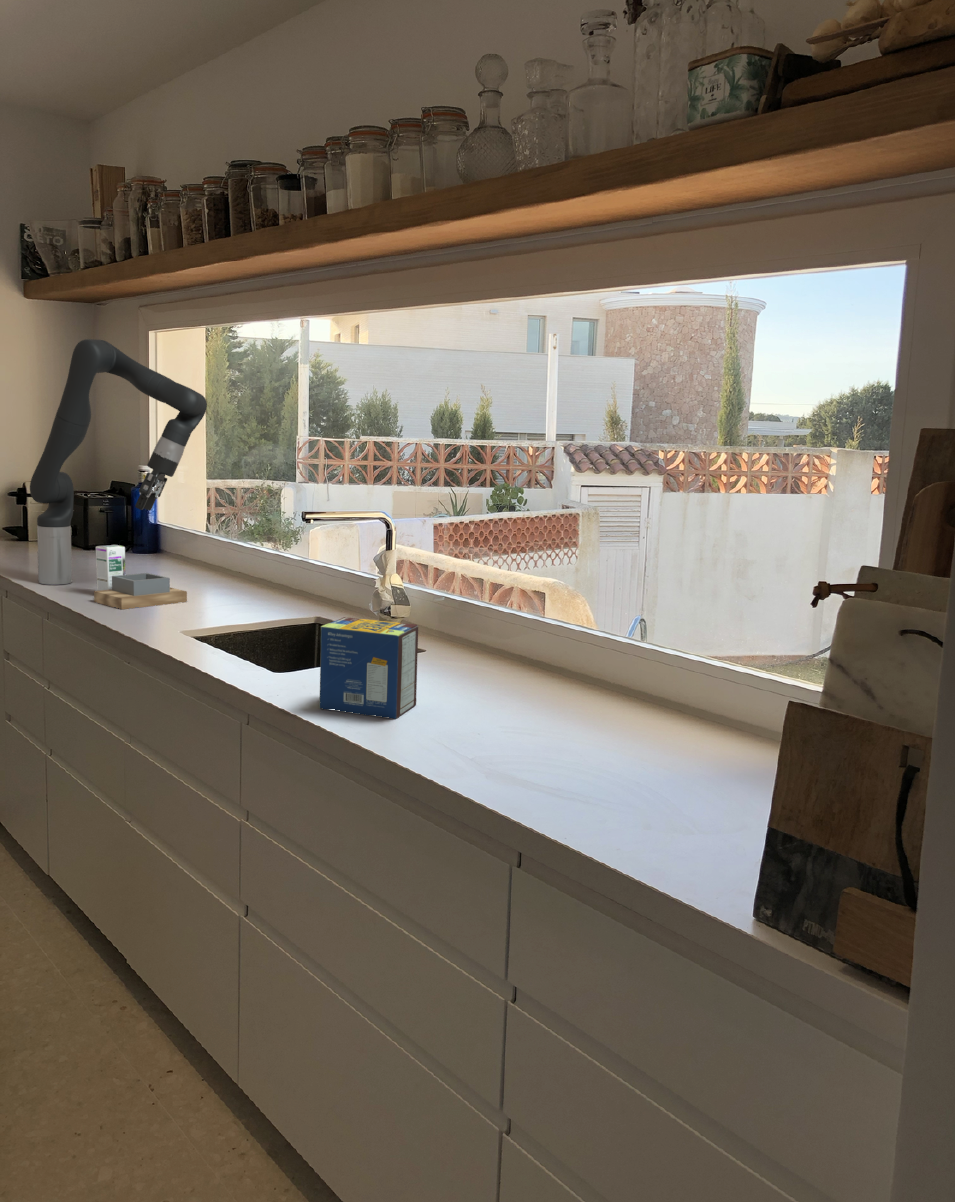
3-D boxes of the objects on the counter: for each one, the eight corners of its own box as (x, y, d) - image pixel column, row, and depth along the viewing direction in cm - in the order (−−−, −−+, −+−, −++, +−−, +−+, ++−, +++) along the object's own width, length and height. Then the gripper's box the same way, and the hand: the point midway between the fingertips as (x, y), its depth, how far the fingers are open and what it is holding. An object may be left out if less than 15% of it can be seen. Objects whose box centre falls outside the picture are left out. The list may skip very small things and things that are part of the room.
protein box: (341, 695, 192) (343, 616, 190) (417, 705, 188) (419, 624, 185) (317, 709, 182) (319, 625, 180) (396, 720, 178) (399, 634, 175)
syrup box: (108, 599, 280) (107, 547, 278) (96, 596, 283) (95, 545, 281) (126, 596, 284) (125, 546, 282) (114, 594, 288) (113, 543, 286)
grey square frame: (112, 590, 277) (111, 576, 276) (147, 586, 285) (147, 572, 284) (133, 595, 270) (133, 581, 269) (169, 592, 278) (169, 577, 277)
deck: (94, 601, 275) (94, 591, 274) (158, 594, 290) (158, 584, 289) (121, 609, 266) (121, 598, 265) (186, 601, 281) (186, 591, 281)
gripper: (160, 452, 287) (137, 504, 288) (147, 448, 273) (122, 502, 274) (184, 463, 288) (161, 515, 288) (172, 460, 274) (148, 514, 274)
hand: (142, 509), depth 281 cm, fingers open, 8 cm apart
